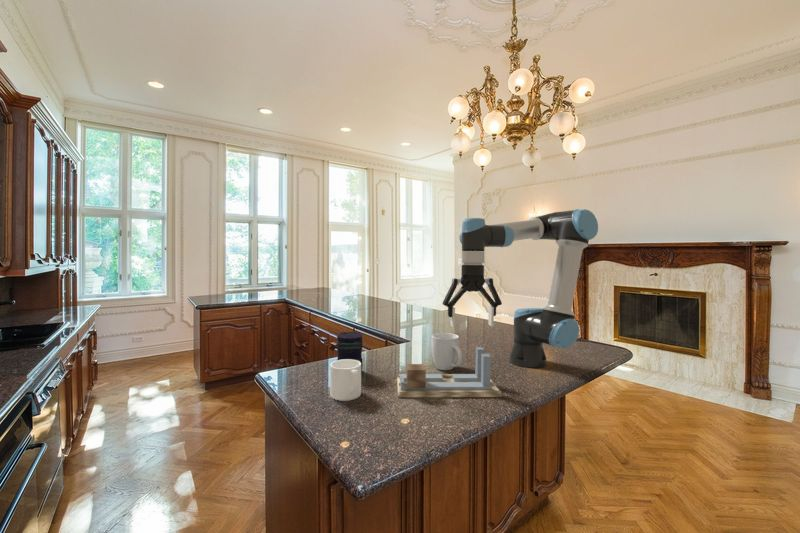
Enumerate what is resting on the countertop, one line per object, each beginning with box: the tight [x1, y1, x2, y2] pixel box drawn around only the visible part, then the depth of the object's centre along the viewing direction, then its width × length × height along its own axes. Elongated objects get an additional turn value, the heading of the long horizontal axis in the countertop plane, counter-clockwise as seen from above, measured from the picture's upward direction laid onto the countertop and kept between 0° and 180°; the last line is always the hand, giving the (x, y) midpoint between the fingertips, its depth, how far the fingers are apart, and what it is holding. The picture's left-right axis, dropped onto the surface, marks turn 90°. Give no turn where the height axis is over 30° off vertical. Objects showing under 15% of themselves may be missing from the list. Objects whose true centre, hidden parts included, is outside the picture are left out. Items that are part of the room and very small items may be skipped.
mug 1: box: [329, 359, 362, 402], centre depth 115 cm, size 13×10×10 cm
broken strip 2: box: [452, 346, 485, 382], centre depth 126 cm, size 11×4×11 cm, turn 91°
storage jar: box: [336, 331, 364, 375], centre depth 136 cm, size 10×10×15 cm
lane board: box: [396, 373, 503, 398], centre depth 122 cm, size 34×16×2 cm, turn 91°
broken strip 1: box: [400, 373, 443, 382], centre depth 126 cm, size 15×4×1 cm, turn 91°
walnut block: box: [405, 363, 427, 388], centre depth 118 cm, size 6×6×6 cm
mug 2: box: [430, 332, 463, 371], centre depth 141 cm, size 15×11×13 cm
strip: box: [401, 353, 492, 391], centre depth 118 cm, size 30×4×11 cm, turn 91°
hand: (471, 326), depth 121 cm, fingers open, 13 cm apart
